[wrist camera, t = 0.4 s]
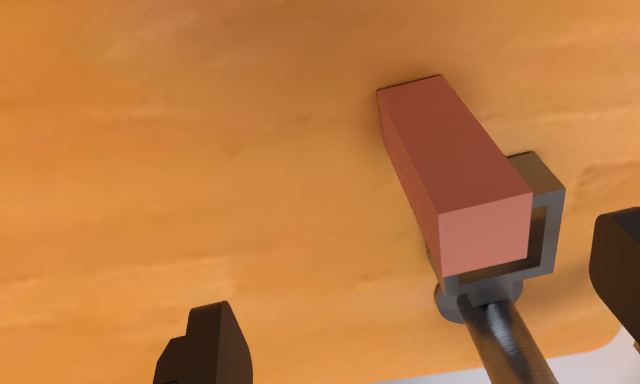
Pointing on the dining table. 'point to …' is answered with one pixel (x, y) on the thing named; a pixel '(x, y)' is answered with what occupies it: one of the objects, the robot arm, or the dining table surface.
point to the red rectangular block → (454, 178)
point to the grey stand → (509, 287)
